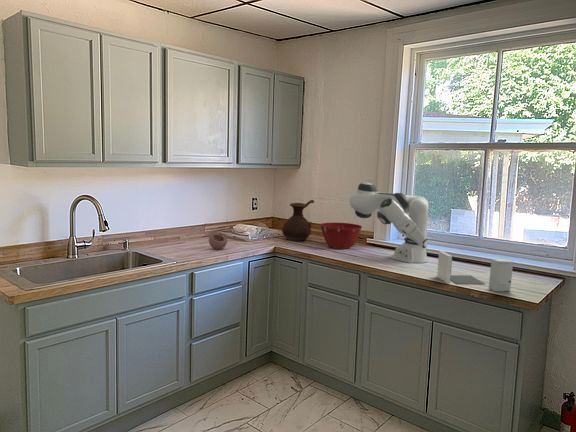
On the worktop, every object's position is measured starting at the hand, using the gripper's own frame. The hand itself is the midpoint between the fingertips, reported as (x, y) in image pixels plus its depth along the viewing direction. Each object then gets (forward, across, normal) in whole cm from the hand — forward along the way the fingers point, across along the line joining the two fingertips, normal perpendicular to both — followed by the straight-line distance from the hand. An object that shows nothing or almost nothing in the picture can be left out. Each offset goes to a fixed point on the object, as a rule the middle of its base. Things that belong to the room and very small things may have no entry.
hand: (421, 245), depth 237 cm
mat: (+30, 0, +5) cm, 30 cm away
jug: (-24, -108, -51) cm, 122 cm away
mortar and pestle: (-61, -70, -92) cm, 131 cm away
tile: (+22, 0, -3) cm, 22 cm away
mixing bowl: (-5, -82, -31) cm, 88 cm away
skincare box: (+36, +18, +12) cm, 42 cm away
